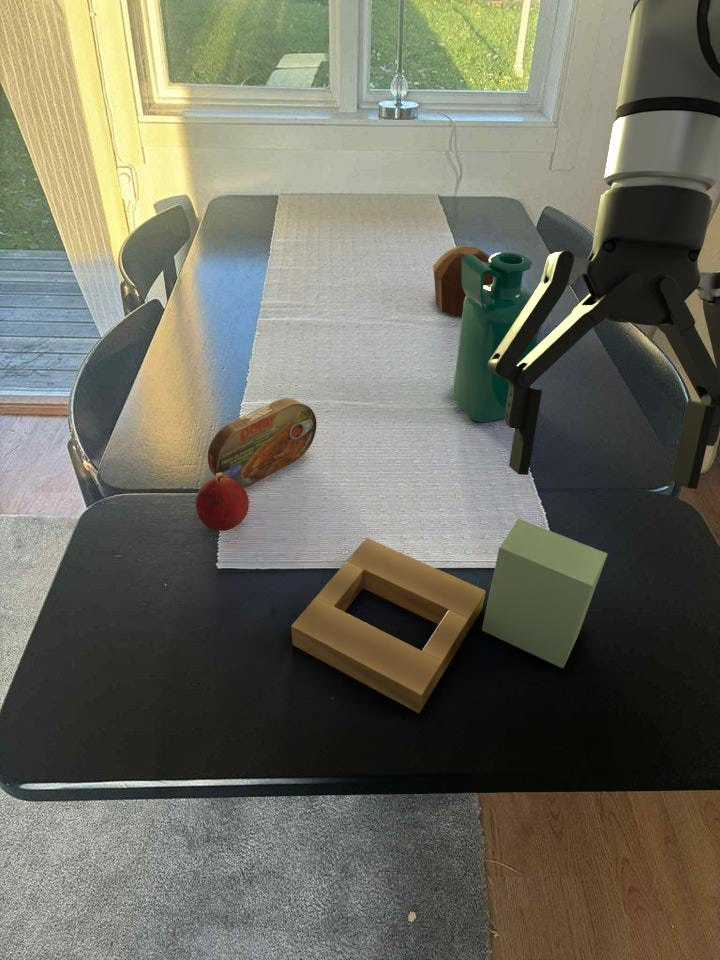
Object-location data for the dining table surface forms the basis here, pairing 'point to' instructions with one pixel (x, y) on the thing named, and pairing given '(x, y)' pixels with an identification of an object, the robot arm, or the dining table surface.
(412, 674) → the mount block
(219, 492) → the onion
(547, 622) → the pale green block
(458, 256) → the brown wooden arched block
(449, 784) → the dining table surface
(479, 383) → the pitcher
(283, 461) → the tin
